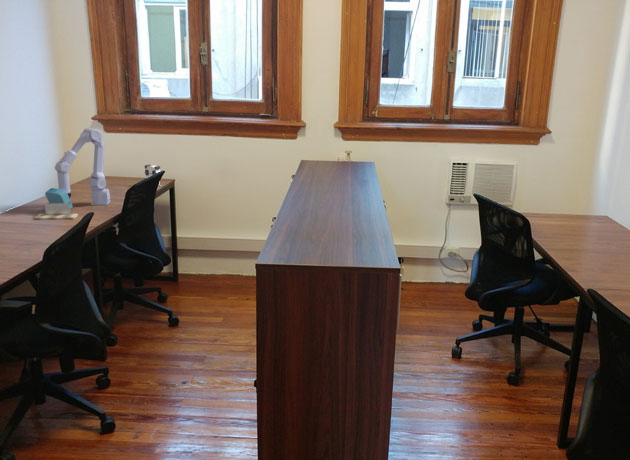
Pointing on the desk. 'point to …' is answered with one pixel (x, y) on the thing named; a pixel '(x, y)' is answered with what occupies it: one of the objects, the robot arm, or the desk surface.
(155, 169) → the panda figurine
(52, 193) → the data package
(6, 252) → the desk surface
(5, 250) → the desk surface
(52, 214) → the bookend
